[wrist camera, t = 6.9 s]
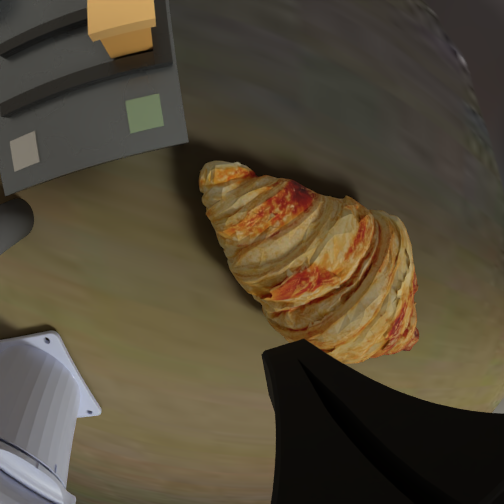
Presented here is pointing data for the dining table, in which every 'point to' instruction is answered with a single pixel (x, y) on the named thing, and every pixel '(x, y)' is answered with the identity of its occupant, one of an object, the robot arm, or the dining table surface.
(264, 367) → the robot arm
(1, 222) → the cylinder
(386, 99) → the dining table surface
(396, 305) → the croissant
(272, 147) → the dining table surface
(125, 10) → the switch knob
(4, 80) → the panel
